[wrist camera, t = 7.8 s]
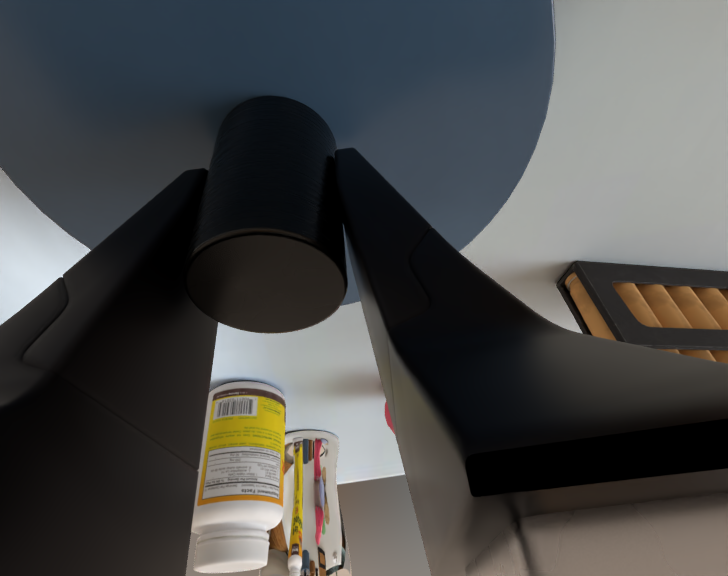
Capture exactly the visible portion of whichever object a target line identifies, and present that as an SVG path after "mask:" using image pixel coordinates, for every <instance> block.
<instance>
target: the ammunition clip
mask: <svg viewBox="0 0 728 576" xmlns="http://www.w3.org/2000/svg"><path fill="white" fill-rule="evenodd" d="M556 286H557V288H558V289H559V291H560V293H561V295H562V297H563V298H564V300H565V302H566V304H567V305H568V307H569V309H570V311H571V313H572V314H573V316H574V318H575V320H576V322H577V323H578V325H579V327H580V329H581V331H582V333H583V334H586V335H591V336H596V337H600V338H605V339H610V340H615V341H620V342H624V343H629V344H634V345H639V346H644V347H648V348H653V349H658V350H663V351H668V352H672V353H677V354H682V355H687V356H692V357H696V358H701V359H706V360H711V361H716V362H722V363H728V272H723V271H709V270H695V269H681V268H667V267H653V266H639V265H625V264H611V263H597V262H583V261H577V262H576V263H575V264H573V265H572V267H571V268H570V269H569V270H568V272H567V273H566V274H565V275H564V276H563V278H562V279H561V280H560V281H559V282H558V284H557V285H556Z"/></svg>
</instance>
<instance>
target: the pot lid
mask: <svg viewBox="0 0 728 576" xmlns="http://www.w3.org/2000/svg"><path fill="white" fill-rule="evenodd" d="M555 48H556V33H555V17H554V1H553V0H0V167H1V168H2V169H3V170H4V172H5V173H6V174H7V175H8V177H9V178H10V179H11V180H12V181H13V183H14V184H15V185H16V186H17V187H18V188H19V189H20V190H21V191H22V192H23V193H24V194H25V195H26V196H27V197H28V198H29V199H30V200H31V201H32V202H33V203H34V204H35V205H36V206H37V207H38V208H39V209H40V210H41V211H42V212H43V213H44V214H45V215H47V216H48V217H49V218H50V219H51V220H53V221H54V222H55V223H56V224H57V225H59V226H60V227H61V228H62V229H63V230H64V231H66V232H67V233H68V234H69V235H71V236H72V237H74V238H75V239H76V240H78V241H79V242H81V243H82V244H84V245H85V246H86V247H88V248H89V249H91V250H93V249H94V248H95V247H96V246H97V245H98V244H100V243H101V242H102V241H103V240H104V239H106V238H107V237H108V236H109V235H110V234H111V233H113V232H114V231H115V230H116V229H117V228H119V227H120V226H121V225H122V224H123V223H124V222H126V221H127V220H128V219H129V218H130V217H131V216H133V215H134V214H135V213H136V212H137V211H139V210H140V209H141V208H142V207H143V206H144V205H146V204H147V203H148V202H149V201H150V200H151V199H153V198H154V197H155V196H156V195H157V194H159V193H160V192H161V191H162V190H163V189H164V188H166V187H167V186H168V185H169V184H170V183H171V182H173V181H174V180H175V179H176V178H177V177H179V176H180V175H181V174H182V173H183V172H184V171H187V170H192V169H199V168H205V169H206V170H208V174H207V178H206V182H205V186H204V190H203V194H202V197H201V201H200V205H199V209H198V213H197V217H196V221H195V225H194V229H193V233H192V237H191V241H190V244H189V248H188V252H187V256H186V260H185V264H184V268H183V283H184V286H185V289H186V292H187V294H188V296H189V298H190V300H191V301H192V302H193V303H194V305H195V306H196V307H197V308H198V309H200V310H201V311H202V312H203V313H204V314H206V315H207V316H209V317H210V318H212V319H214V320H215V321H218V322H220V323H222V324H224V325H227V326H230V327H232V328H236V329H240V330H244V331H249V332H256V333H286V332H293V331H298V330H302V329H305V328H308V327H311V326H314V325H316V324H318V323H320V322H322V321H324V320H325V319H327V318H328V317H330V316H331V315H332V314H333V313H334V312H335V311H336V310H337V309H338V308H339V307H340V306H342V305H347V304H351V303H355V302H359V301H361V300H360V297H359V293H358V289H357V285H356V281H355V277H354V273H353V269H352V266H351V262H350V257H349V253H348V247H347V242H346V236H345V231H344V225H343V219H342V214H341V209H340V204H339V198H338V193H337V187H336V180H335V156H334V153H335V151H336V150H337V149H344V148H351V147H353V148H355V149H356V150H357V151H358V152H359V153H360V154H361V155H362V156H363V157H364V158H365V159H366V160H367V161H368V162H369V163H370V164H371V165H372V166H373V167H374V168H375V169H376V170H377V171H378V172H379V173H380V174H381V175H382V176H383V177H384V178H385V179H386V180H387V181H388V182H389V183H390V184H391V185H392V186H393V187H394V188H395V189H396V190H397V191H398V192H399V193H400V194H401V195H402V196H403V197H404V198H405V199H406V200H407V201H408V202H409V203H410V204H411V205H412V206H413V207H414V208H415V210H416V211H417V212H418V213H419V214H420V215H421V216H422V217H423V218H424V219H425V220H426V221H427V222H428V223H429V224H430V225H431V226H432V228H434V229H435V230H436V231H437V232H438V233H439V234H440V235H441V236H442V237H443V238H444V239H445V240H446V241H447V242H449V243H450V244H451V245H452V246H453V247H454V248H455V249H456V250H457V251H458V252H459V251H460V250H462V249H463V248H464V247H465V246H466V245H468V244H469V243H470V242H471V241H472V240H473V239H474V238H475V237H476V236H477V235H478V234H479V233H480V232H481V231H482V230H483V229H484V228H485V227H486V226H487V225H488V224H489V223H490V222H491V220H492V219H493V218H494V217H495V215H496V214H497V213H498V212H499V210H500V209H501V208H502V206H503V205H504V204H505V203H506V201H507V200H508V198H509V197H510V195H511V193H512V192H513V190H514V189H515V187H516V185H517V184H518V182H519V181H520V179H521V177H522V176H523V174H524V171H525V169H526V167H527V165H528V163H529V161H530V159H531V157H532V155H533V152H534V150H535V148H536V145H537V142H538V139H539V136H540V133H541V130H542V127H543V124H544V121H545V118H546V114H547V109H548V104H549V99H550V94H551V89H552V84H553V76H554V62H555Z"/></svg>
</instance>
